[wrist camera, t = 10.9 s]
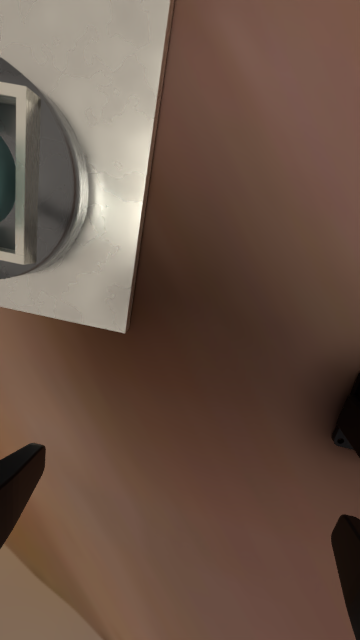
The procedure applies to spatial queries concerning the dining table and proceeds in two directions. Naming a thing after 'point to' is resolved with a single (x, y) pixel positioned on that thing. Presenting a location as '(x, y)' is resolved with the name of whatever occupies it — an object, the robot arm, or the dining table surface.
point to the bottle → (6, 180)
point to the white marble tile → (79, 151)
